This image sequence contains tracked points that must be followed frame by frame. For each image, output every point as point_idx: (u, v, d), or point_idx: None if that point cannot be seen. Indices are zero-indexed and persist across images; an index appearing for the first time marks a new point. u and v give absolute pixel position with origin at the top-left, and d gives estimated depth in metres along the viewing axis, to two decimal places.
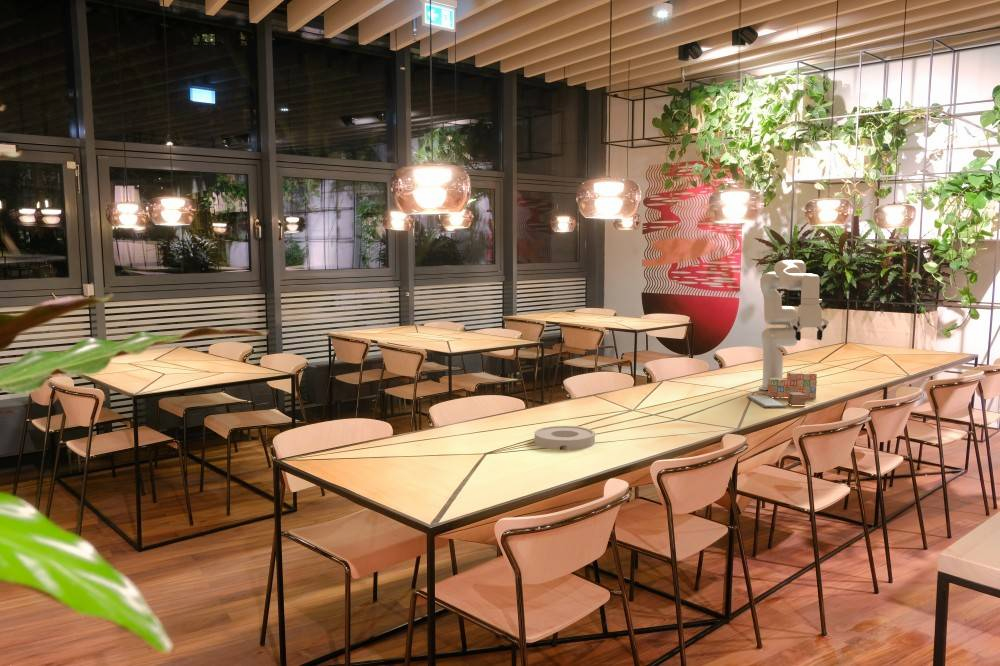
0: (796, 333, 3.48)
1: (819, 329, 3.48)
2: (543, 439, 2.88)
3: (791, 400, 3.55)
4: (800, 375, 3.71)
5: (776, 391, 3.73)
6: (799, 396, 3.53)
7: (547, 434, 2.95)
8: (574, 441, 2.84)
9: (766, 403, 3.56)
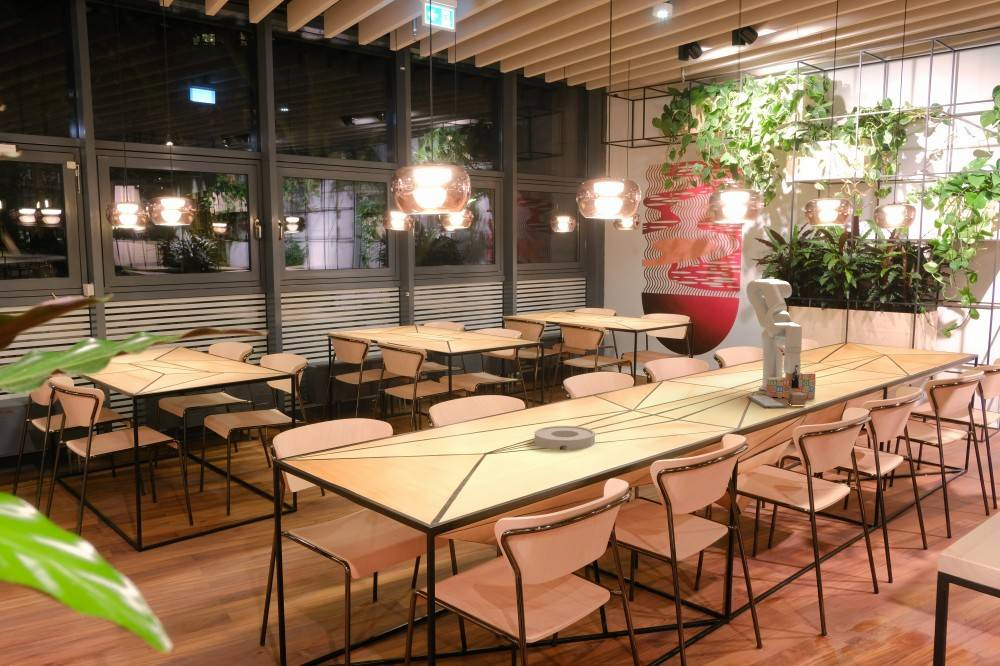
0: (795, 382, 3.70)
1: None
2: (543, 439, 2.88)
3: (791, 400, 3.55)
4: (799, 375, 3.71)
5: (775, 391, 3.73)
6: (799, 396, 3.53)
7: (547, 434, 2.95)
8: (574, 441, 2.84)
9: (766, 403, 3.56)
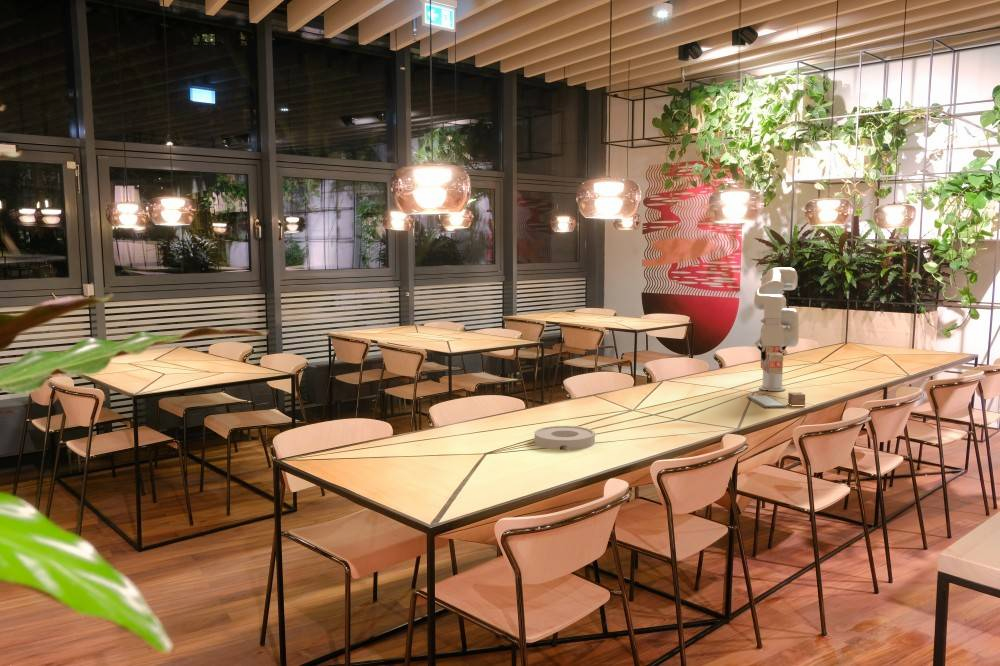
0: (781, 353, 3.62)
1: (763, 349, 3.63)
2: (543, 439, 2.88)
3: (791, 400, 3.55)
4: None
5: None
6: (799, 396, 3.53)
7: (547, 434, 2.95)
8: (574, 441, 2.84)
9: (766, 403, 3.56)
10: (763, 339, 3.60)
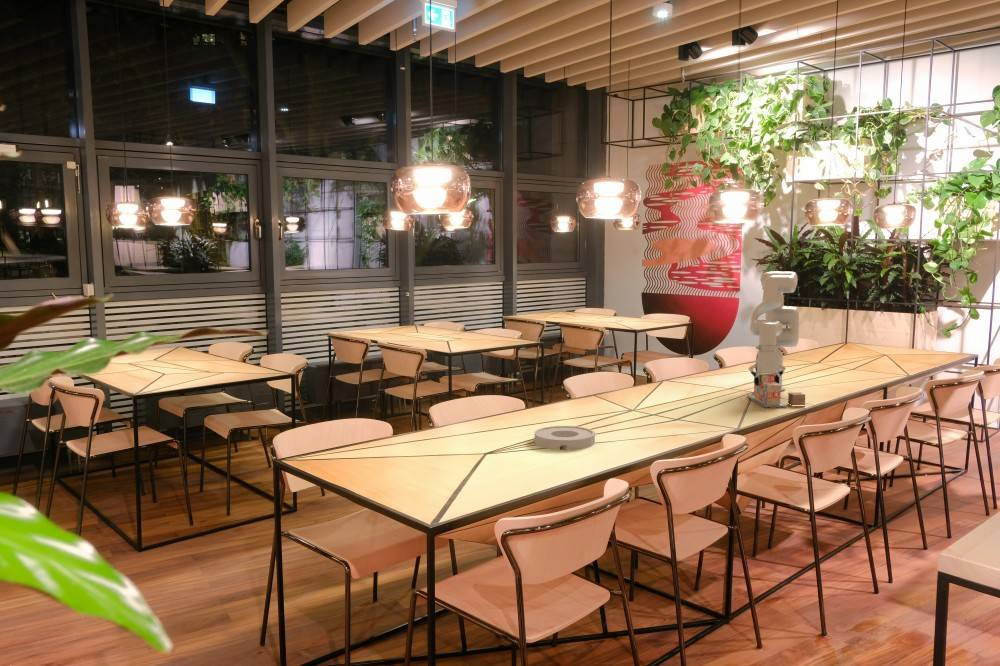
0: (778, 378, 3.62)
1: None
2: (543, 439, 2.88)
3: (791, 400, 3.55)
4: None
5: None
6: (799, 396, 3.53)
7: (547, 434, 2.95)
8: (574, 441, 2.84)
9: None
10: (759, 366, 3.59)
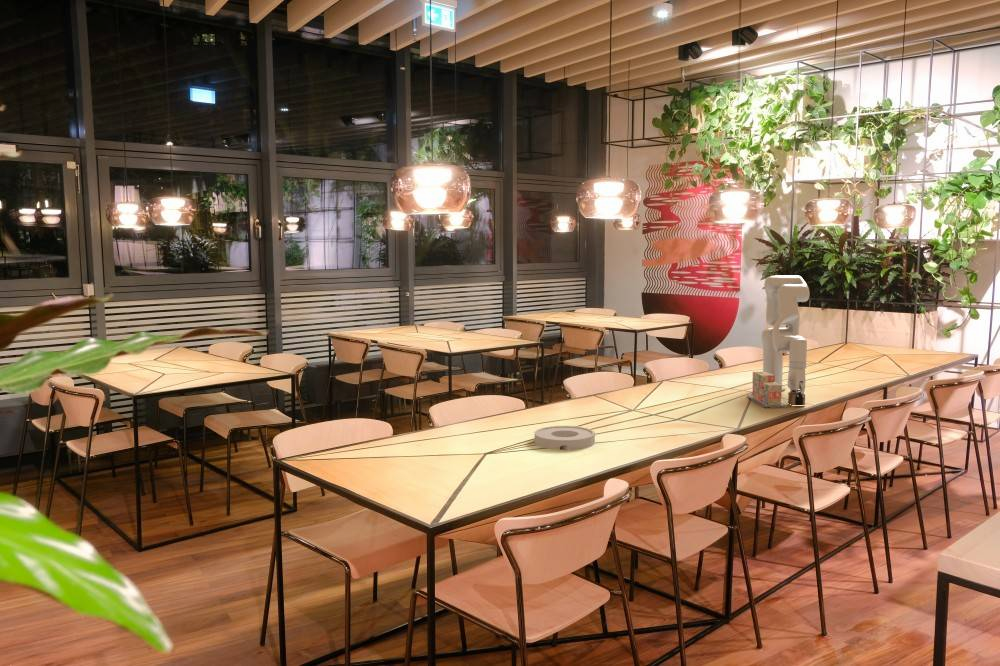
0: (799, 398, 3.52)
1: (794, 391, 3.59)
2: (543, 439, 2.88)
3: (791, 400, 3.55)
4: None
5: None
6: None
7: (547, 434, 2.95)
8: (574, 441, 2.84)
9: None
10: None
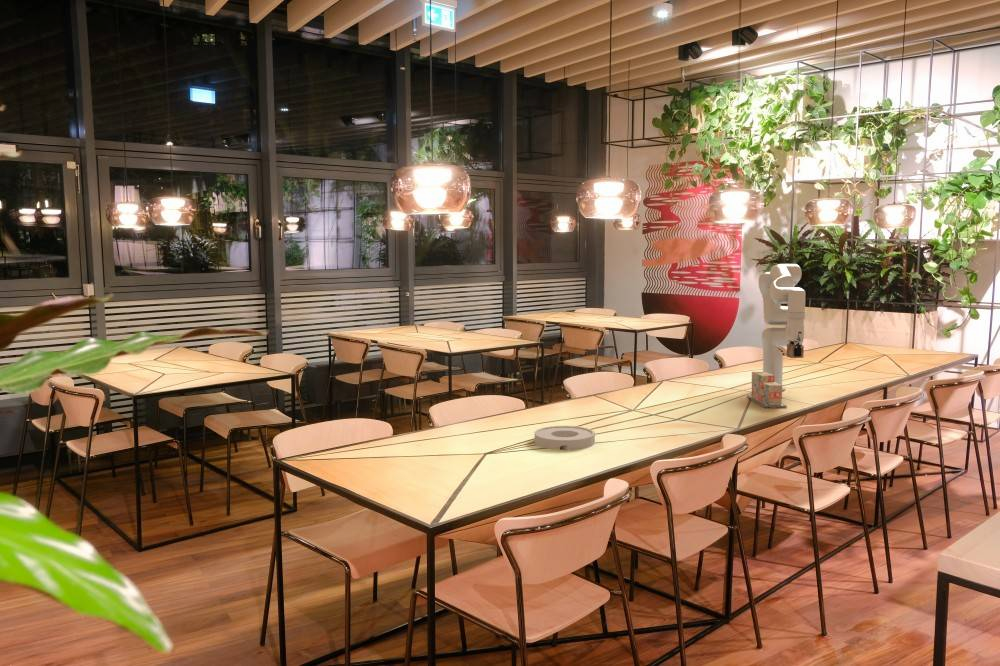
0: (798, 349, 3.50)
1: (792, 343, 3.57)
2: (543, 439, 2.88)
3: (789, 351, 3.53)
4: None
5: None
6: None
7: (547, 434, 2.95)
8: (574, 441, 2.84)
9: None
10: (786, 332, 3.58)
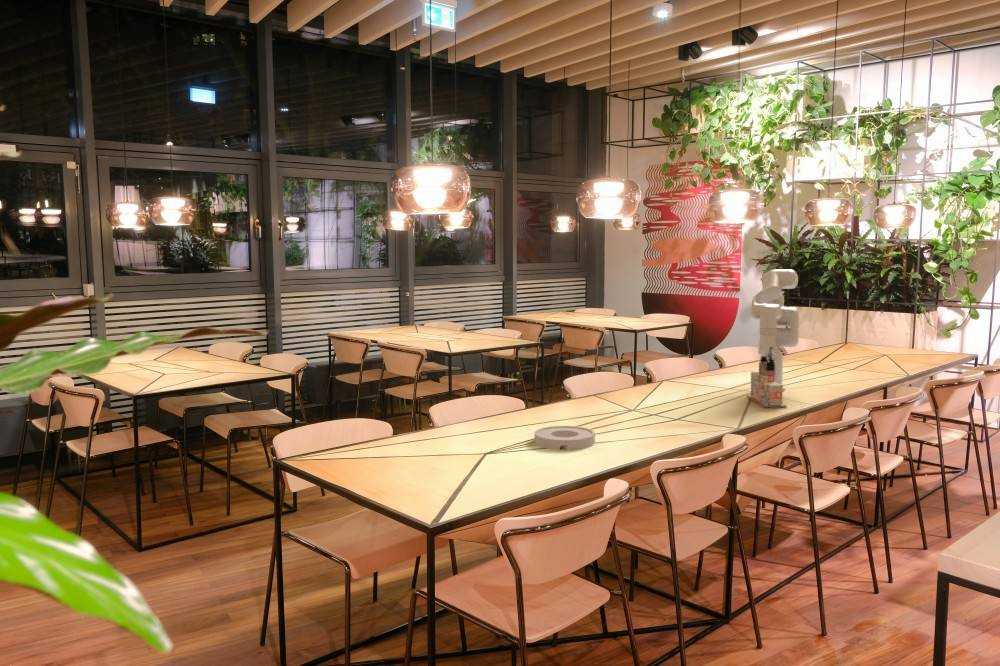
0: (770, 364, 3.56)
1: (764, 357, 3.65)
2: (543, 439, 2.88)
3: (762, 369, 3.60)
4: None
5: None
6: None
7: (547, 434, 2.95)
8: (574, 441, 2.84)
9: None
10: None
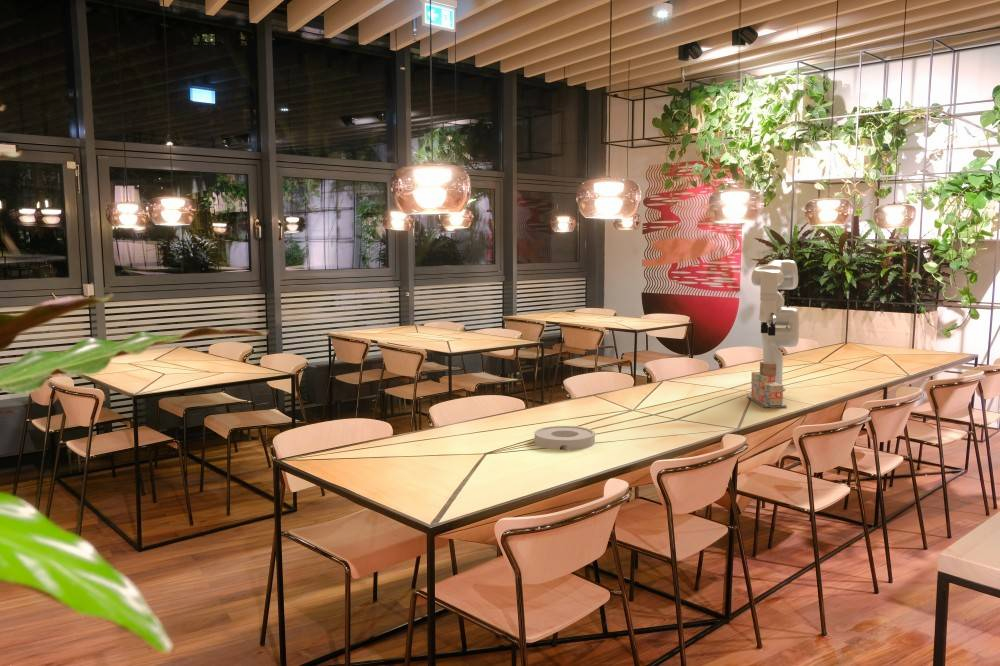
0: (772, 329, 3.54)
1: (764, 323, 3.64)
2: (543, 439, 2.88)
3: (762, 369, 3.60)
4: None
5: None
6: (770, 365, 3.58)
7: (547, 434, 2.95)
8: (574, 441, 2.84)
9: None
10: (759, 313, 3.63)
